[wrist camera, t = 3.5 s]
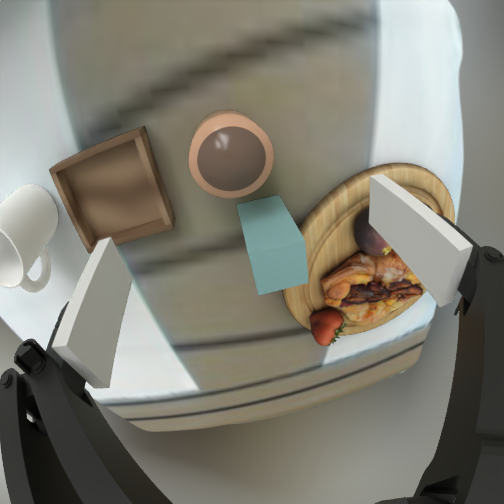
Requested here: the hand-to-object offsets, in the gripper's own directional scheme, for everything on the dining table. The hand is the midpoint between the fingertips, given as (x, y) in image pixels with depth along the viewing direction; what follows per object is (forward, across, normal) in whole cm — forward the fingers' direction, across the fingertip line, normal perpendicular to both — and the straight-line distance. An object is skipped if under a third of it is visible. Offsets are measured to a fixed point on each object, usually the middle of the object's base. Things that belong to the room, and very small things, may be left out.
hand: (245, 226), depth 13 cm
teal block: (+18, +2, -10) cm, 21 cm away
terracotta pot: (+18, 0, 0) cm, 18 cm away
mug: (+18, -26, -2) cm, 31 cm away
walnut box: (+18, -13, -1) cm, 22 cm away
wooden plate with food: (+19, +19, -22) cm, 34 cm away
